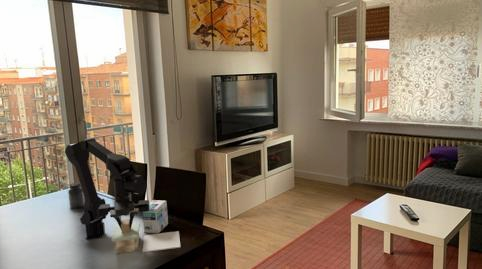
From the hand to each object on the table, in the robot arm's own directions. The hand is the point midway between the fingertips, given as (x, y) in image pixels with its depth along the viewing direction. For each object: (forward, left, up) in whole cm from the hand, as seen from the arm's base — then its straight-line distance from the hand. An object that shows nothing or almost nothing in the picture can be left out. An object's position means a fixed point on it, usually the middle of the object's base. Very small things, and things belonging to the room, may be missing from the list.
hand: (126, 229), depth 142 cm
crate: (0, 0, -6) cm, 6 cm away
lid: (0, 0, -3) cm, 3 cm away
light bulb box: (+11, +13, -7) cm, 18 cm away
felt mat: (+13, -1, -6) cm, 15 cm away
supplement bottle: (-29, +52, -7) cm, 60 cm away
